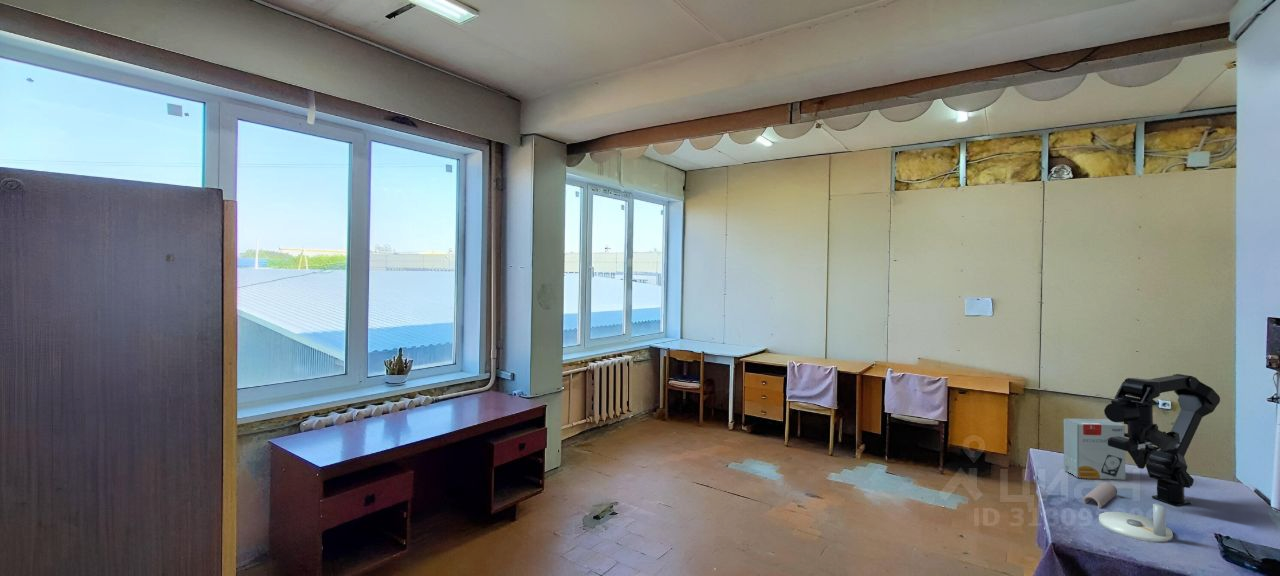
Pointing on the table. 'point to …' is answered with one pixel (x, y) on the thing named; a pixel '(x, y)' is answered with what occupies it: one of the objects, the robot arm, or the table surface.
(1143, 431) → the robot arm
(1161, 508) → the desk lamp base
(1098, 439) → the hard drive box
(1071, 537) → the table surface
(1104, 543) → the table surface
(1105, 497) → the coil
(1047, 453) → the table surface
